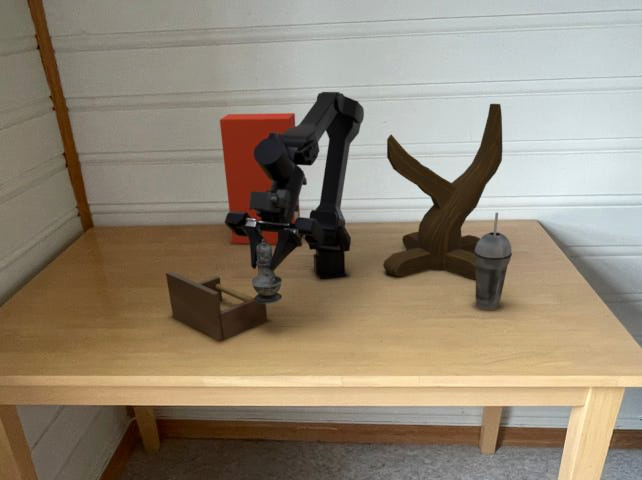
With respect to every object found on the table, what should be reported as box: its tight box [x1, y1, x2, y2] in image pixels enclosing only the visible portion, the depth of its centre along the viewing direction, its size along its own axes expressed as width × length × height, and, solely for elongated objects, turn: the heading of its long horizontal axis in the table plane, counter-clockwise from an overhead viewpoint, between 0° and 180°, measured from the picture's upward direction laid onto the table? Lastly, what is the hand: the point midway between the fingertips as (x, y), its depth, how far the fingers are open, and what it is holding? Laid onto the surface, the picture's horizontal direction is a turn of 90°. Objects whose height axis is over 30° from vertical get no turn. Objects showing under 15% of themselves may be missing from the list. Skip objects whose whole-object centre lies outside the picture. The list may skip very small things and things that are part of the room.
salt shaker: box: [250, 239, 283, 305], centre depth 120 cm, size 6×6×12 cm
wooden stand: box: [382, 103, 503, 280], centre depth 145 cm, size 29×29×35 cm
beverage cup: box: [474, 211, 513, 311], centre depth 127 cm, size 7×7×20 cm
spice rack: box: [165, 270, 268, 343], centre depth 130 cm, size 12×16×10 cm
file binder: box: [219, 112, 301, 246], centre depth 166 cm, size 8×17×32 cm, turn 80°
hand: (262, 269), depth 119 cm, fingers closed on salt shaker, 3 cm apart
